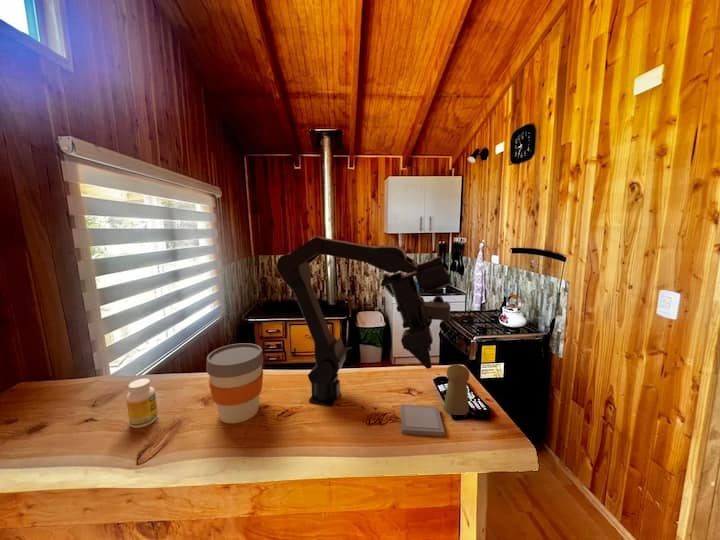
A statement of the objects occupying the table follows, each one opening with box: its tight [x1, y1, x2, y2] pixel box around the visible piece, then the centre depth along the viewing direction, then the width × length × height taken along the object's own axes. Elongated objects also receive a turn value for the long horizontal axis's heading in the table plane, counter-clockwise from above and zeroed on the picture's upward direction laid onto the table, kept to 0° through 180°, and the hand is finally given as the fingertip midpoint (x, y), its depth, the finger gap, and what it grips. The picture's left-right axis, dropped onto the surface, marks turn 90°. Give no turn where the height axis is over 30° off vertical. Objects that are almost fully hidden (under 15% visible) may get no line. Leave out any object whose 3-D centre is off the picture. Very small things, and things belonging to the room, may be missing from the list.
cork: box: [443, 364, 470, 416], centre depth 72 cm, size 6×6×11 cm
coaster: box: [400, 404, 446, 437], centre depth 69 cm, size 9×9×1 cm
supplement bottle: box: [125, 378, 159, 429], centre depth 69 cm, size 5×5×10 cm
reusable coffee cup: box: [205, 342, 264, 424], centre depth 72 cm, size 13×13×15 cm
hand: (429, 358), depth 71 cm, fingers open, 9 cm apart
